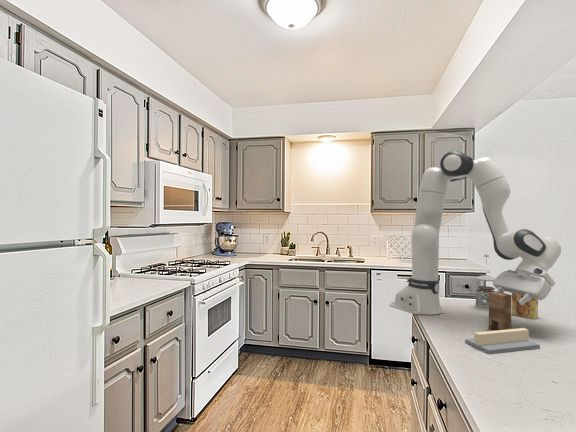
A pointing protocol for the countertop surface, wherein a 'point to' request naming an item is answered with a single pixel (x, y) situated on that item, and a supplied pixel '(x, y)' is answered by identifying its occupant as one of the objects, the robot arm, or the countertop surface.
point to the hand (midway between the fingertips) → (507, 300)
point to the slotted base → (504, 346)
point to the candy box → (524, 307)
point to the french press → (483, 292)
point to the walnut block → (499, 311)
